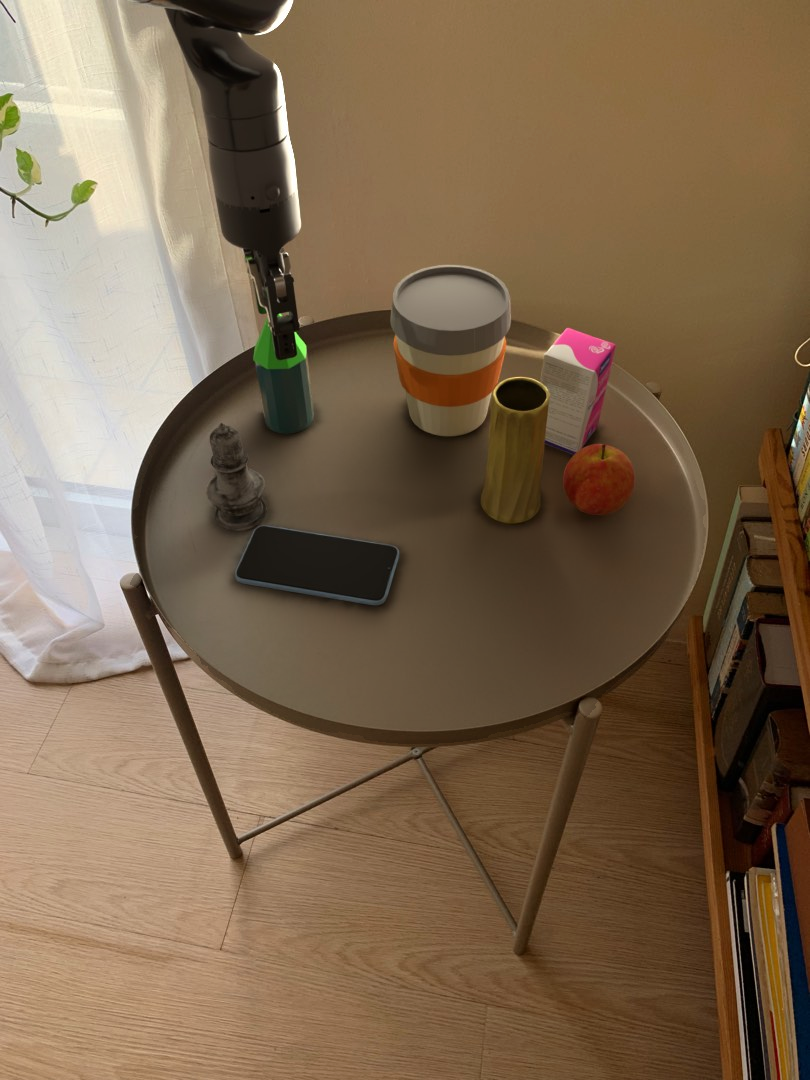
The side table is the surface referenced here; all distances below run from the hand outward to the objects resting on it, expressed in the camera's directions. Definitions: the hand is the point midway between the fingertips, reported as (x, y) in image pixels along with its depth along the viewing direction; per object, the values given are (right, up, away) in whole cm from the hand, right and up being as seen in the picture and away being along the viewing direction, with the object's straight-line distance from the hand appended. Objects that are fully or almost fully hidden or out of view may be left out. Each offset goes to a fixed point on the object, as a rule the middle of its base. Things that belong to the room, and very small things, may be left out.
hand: (277, 333), depth 92 cm
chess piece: (-4, -19, -1) cm, 19 cm away
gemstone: (0, -2, +2) cm, 3 cm away
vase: (+24, -18, -1) cm, 30 cm away
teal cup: (0, -8, +8) cm, 11 cm away
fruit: (+33, -18, -1) cm, 37 cm away
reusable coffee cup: (+18, -7, +9) cm, 22 cm away
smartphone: (+5, -24, -6) cm, 26 cm away
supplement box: (+31, -10, +6) cm, 33 cm away
